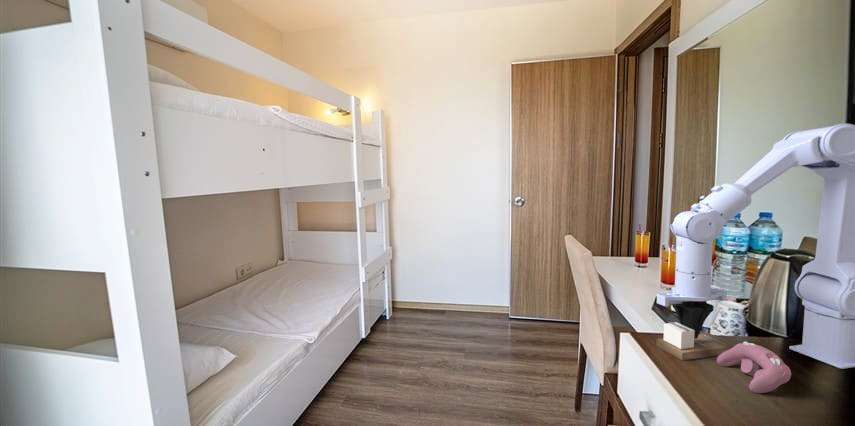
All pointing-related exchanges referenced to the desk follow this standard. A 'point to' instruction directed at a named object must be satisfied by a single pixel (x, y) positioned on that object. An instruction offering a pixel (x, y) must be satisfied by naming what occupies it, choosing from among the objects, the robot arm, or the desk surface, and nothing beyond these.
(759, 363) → the video game controller
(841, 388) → the desk surface
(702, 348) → the fader board
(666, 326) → the fader tab
